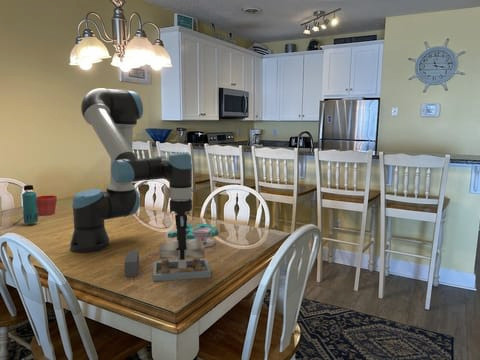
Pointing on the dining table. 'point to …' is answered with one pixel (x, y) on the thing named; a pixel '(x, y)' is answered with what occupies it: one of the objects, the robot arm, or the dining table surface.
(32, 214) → the beverage bottle
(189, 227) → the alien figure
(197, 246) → the grey flat block
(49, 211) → the flower pot
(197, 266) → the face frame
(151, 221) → the dining table surface
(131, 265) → the block
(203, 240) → the teacup
